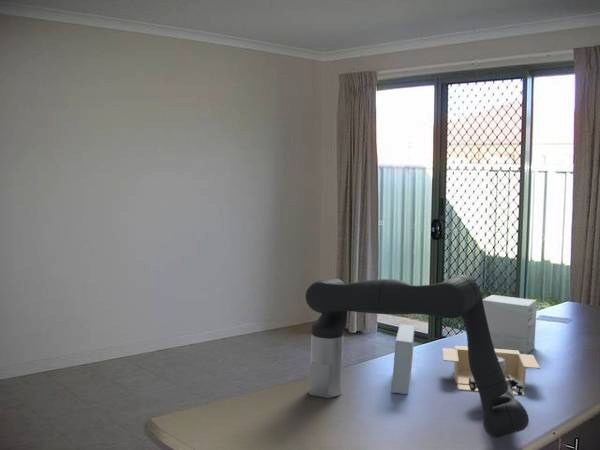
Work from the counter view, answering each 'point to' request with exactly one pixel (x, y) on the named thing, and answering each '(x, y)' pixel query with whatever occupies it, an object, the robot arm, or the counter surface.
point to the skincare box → (403, 359)
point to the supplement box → (511, 322)
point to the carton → (512, 358)
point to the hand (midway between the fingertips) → (493, 376)
